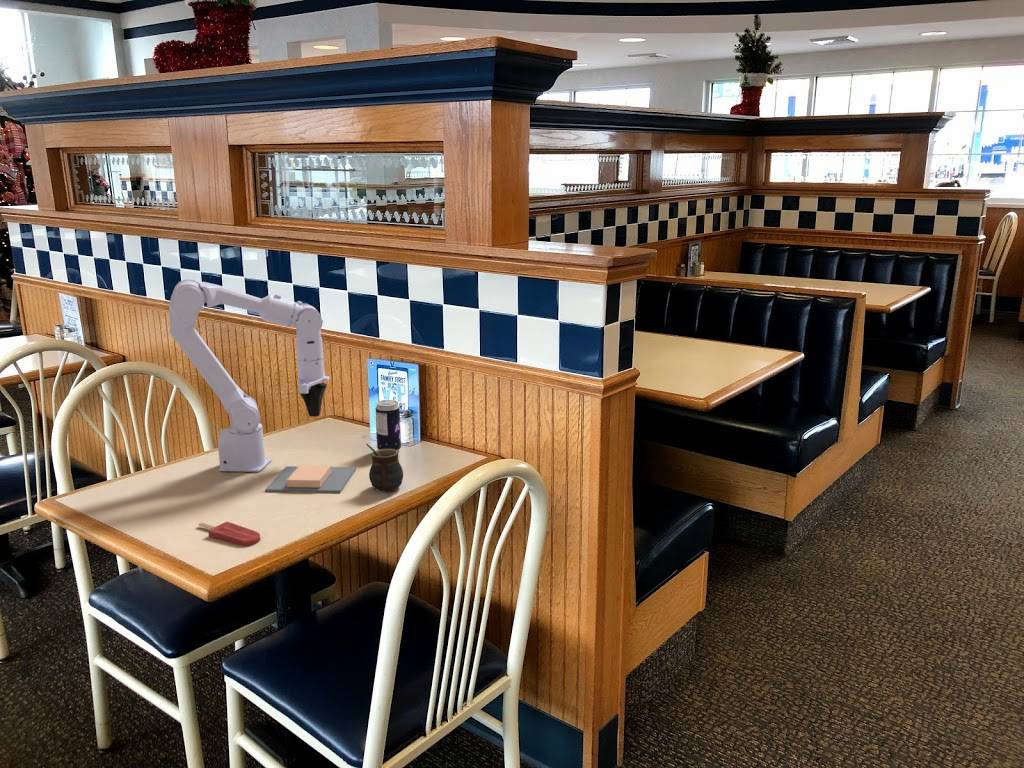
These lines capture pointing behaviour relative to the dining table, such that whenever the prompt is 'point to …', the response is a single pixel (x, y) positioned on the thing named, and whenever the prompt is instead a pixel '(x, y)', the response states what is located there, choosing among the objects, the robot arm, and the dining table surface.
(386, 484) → the mate gourd
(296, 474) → the tile
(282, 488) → the slate pad
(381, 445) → the beverage can
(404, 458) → the dining table surface
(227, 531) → the popsicle
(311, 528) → the dining table surface
